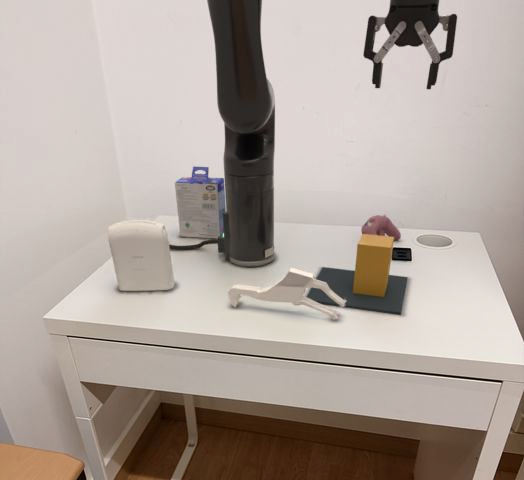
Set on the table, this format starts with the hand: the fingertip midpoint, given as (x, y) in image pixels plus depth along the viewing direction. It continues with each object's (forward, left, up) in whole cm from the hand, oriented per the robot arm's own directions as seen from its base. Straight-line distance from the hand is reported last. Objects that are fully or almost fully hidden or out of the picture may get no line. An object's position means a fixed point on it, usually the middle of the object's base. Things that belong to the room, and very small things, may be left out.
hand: (403, 88), depth 82 cm
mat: (-2, -18, -30) cm, 35 cm away
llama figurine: (-12, -29, -30) cm, 44 cm away
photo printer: (-39, -28, -30) cm, 57 cm away
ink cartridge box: (-40, 0, -30) cm, 50 cm away
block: (0, -18, -30) cm, 35 cm away
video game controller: (-1, +5, -30) cm, 31 cm away
